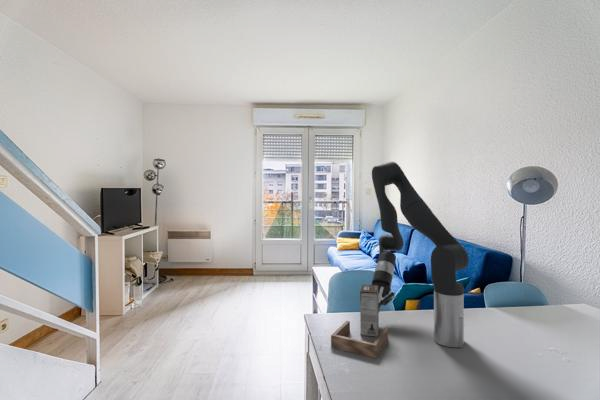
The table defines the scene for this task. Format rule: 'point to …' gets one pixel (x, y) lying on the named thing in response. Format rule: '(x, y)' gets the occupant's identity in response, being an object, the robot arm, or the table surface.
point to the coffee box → (369, 310)
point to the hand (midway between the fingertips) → (374, 313)
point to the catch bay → (358, 342)
